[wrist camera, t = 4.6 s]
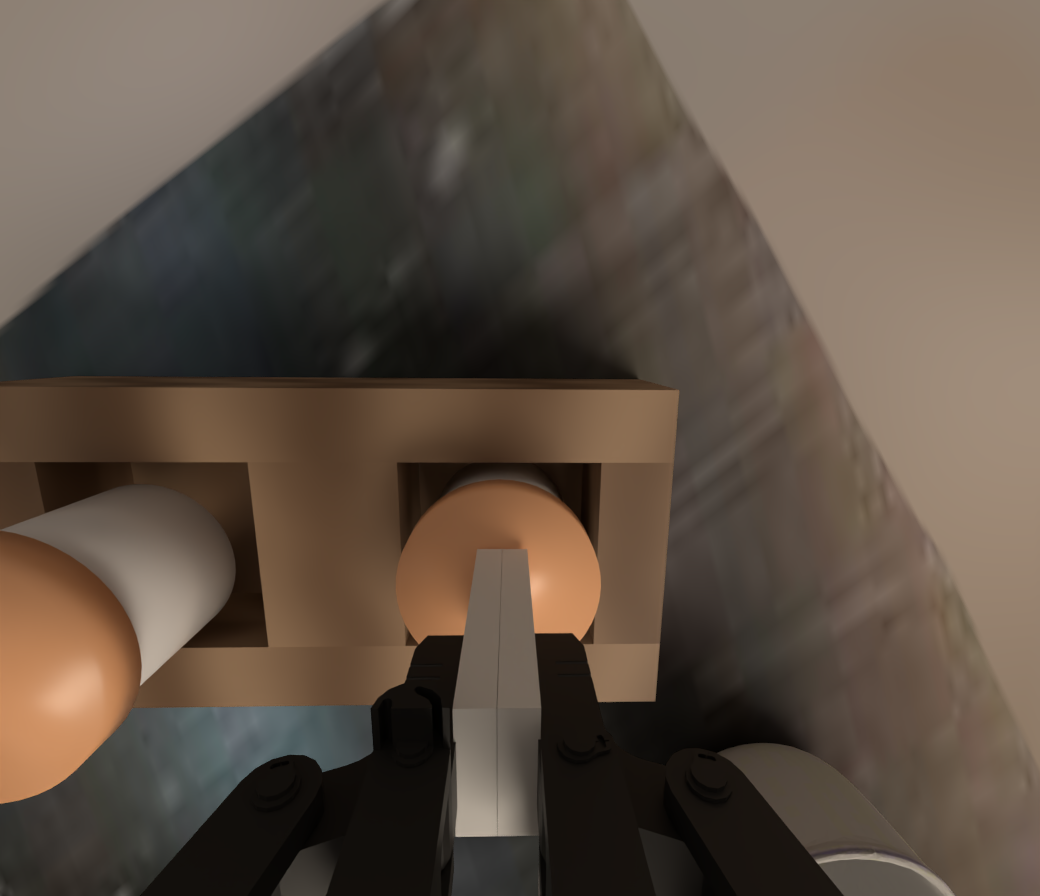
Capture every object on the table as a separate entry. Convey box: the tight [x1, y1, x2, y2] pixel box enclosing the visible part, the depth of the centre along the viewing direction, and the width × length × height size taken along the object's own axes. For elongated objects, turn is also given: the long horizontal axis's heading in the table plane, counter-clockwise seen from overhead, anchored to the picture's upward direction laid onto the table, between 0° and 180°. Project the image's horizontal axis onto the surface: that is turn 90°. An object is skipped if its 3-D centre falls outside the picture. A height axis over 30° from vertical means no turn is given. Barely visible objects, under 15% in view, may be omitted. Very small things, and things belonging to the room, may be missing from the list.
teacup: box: [717, 743, 956, 896], centre depth 22 cm, size 14×11×8 cm
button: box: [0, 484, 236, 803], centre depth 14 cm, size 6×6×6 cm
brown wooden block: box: [0, 376, 679, 708], centre depth 20 cm, size 24×12×5 cm, turn 89°
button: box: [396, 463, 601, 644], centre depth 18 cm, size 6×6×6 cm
